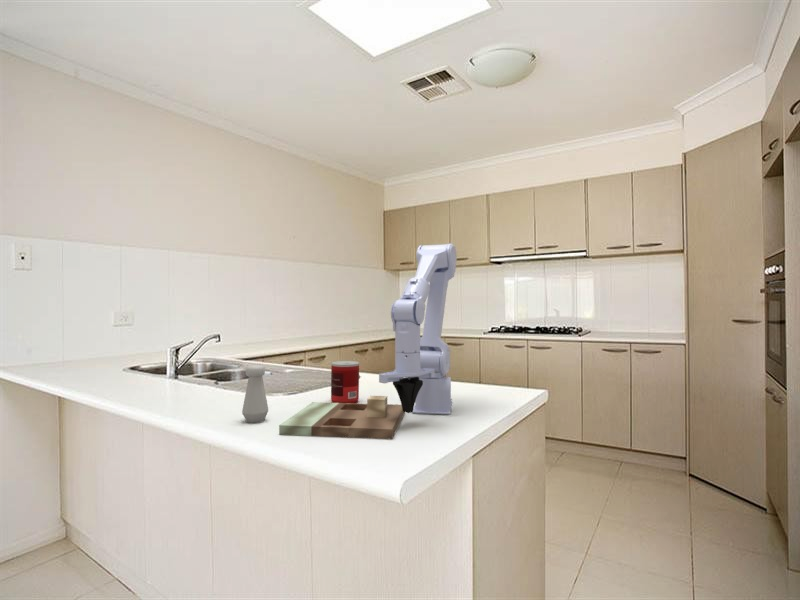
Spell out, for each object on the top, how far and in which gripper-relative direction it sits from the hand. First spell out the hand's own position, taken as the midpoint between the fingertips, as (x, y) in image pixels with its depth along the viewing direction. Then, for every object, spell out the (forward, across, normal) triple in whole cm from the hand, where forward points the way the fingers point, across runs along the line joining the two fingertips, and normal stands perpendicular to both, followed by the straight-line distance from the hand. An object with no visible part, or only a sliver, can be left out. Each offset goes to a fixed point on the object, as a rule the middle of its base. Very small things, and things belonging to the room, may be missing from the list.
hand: (407, 411), depth 102 cm
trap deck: (+3, +10, -10) cm, 14 cm away
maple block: (+1, +5, -5) cm, 7 cm away
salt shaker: (+3, +26, -24) cm, 36 cm away
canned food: (+3, 0, -29) cm, 29 cm away
